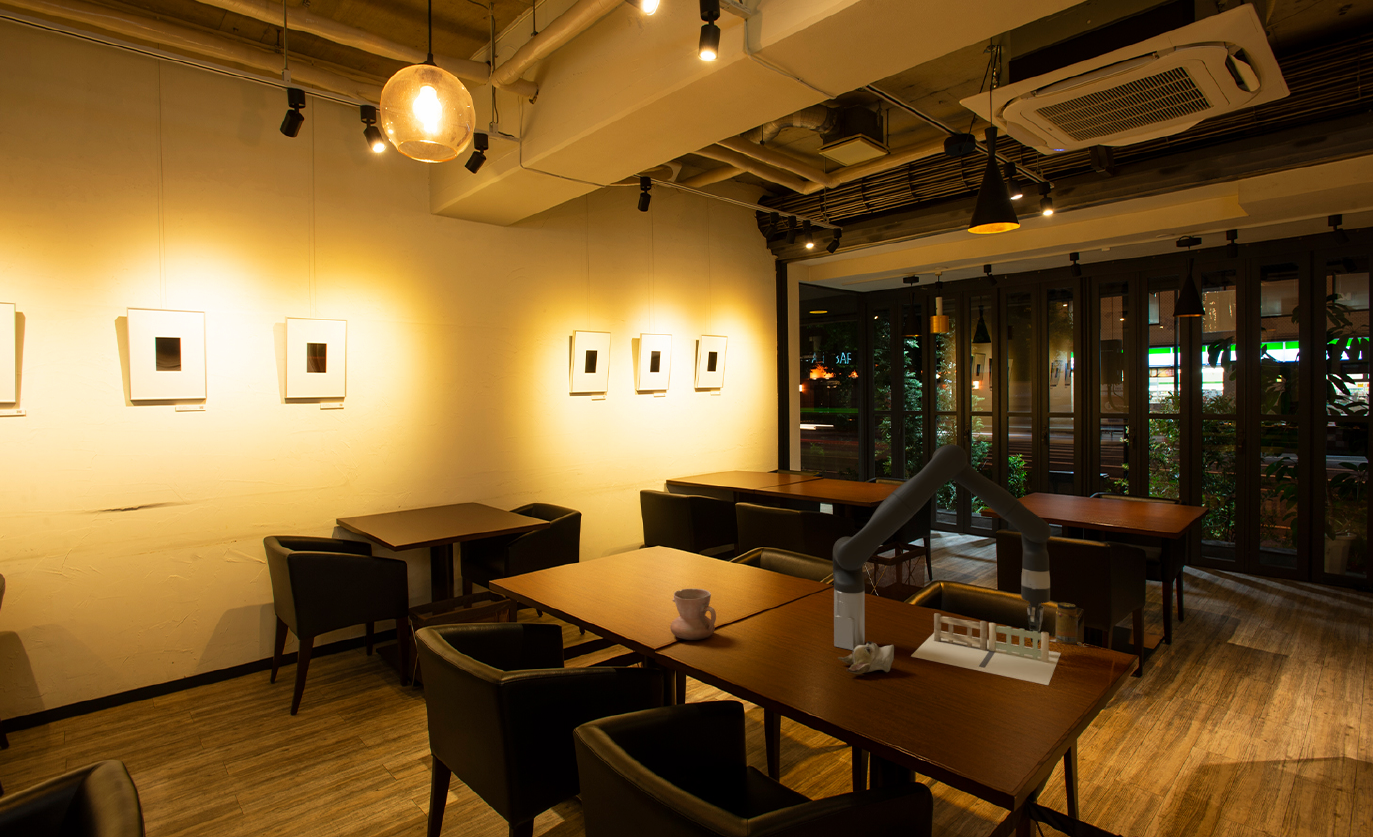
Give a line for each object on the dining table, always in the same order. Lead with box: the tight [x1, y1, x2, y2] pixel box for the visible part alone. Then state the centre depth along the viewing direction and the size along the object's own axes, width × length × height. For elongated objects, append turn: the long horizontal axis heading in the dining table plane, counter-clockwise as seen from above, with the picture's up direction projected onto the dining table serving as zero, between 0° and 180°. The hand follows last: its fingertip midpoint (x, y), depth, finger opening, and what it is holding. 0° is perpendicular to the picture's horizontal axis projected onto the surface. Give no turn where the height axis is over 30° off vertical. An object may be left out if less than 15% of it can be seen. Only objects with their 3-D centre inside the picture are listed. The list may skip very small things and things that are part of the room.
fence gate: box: [988, 622, 1050, 662], centre depth 196 cm, size 16×2×8 cm, turn 55°
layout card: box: [910, 630, 1061, 686], centre depth 197 cm, size 28×36×1 cm
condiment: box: [1049, 602, 1088, 648], centre depth 207 cm, size 7×8×12 cm
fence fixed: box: [933, 612, 988, 651], centre depth 205 cm, size 16×2×8 cm, turn 55°
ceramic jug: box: [669, 588, 717, 641], centre depth 214 cm, size 18×14×14 cm
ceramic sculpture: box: [837, 640, 895, 675], centre depth 186 cm, size 11×9×15 cm
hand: (1035, 642), depth 197 cm, fingers closed
